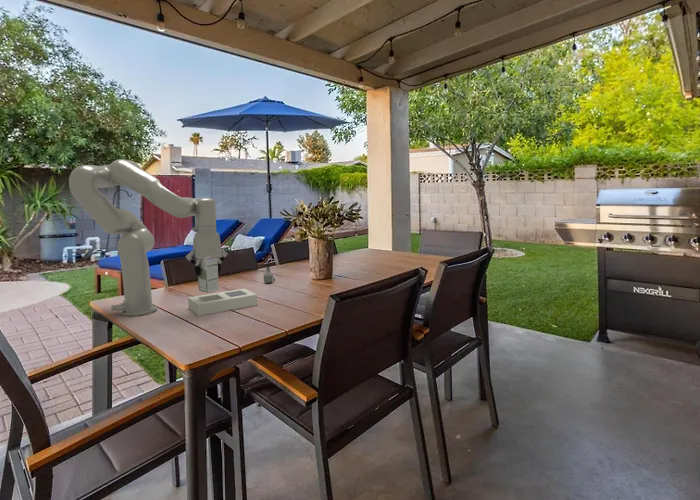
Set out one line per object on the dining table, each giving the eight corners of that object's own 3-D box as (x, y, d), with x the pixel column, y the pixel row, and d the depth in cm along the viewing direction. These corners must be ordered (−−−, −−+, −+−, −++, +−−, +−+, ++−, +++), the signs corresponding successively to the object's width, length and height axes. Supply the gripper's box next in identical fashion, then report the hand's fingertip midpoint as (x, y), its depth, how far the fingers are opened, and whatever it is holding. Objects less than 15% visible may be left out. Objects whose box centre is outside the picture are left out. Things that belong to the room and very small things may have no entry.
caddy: (198, 316, 158) (197, 304, 157) (188, 308, 168) (188, 296, 168) (257, 305, 172) (256, 294, 171) (245, 298, 182) (244, 288, 182)
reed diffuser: (269, 285, 207) (268, 245, 203) (256, 284, 208) (255, 245, 205) (277, 280, 216) (276, 242, 213) (265, 280, 218) (263, 242, 215)
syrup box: (219, 290, 167) (218, 254, 165) (207, 293, 162) (205, 256, 160) (210, 288, 170) (208, 253, 168) (197, 291, 165) (196, 255, 163)
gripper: (185, 232, 154) (188, 278, 157) (231, 229, 164) (232, 273, 167) (180, 230, 160) (182, 275, 163) (224, 228, 170) (226, 270, 173)
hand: (208, 273), depth 165 cm, fingers closed on syrup box, 7 cm apart
